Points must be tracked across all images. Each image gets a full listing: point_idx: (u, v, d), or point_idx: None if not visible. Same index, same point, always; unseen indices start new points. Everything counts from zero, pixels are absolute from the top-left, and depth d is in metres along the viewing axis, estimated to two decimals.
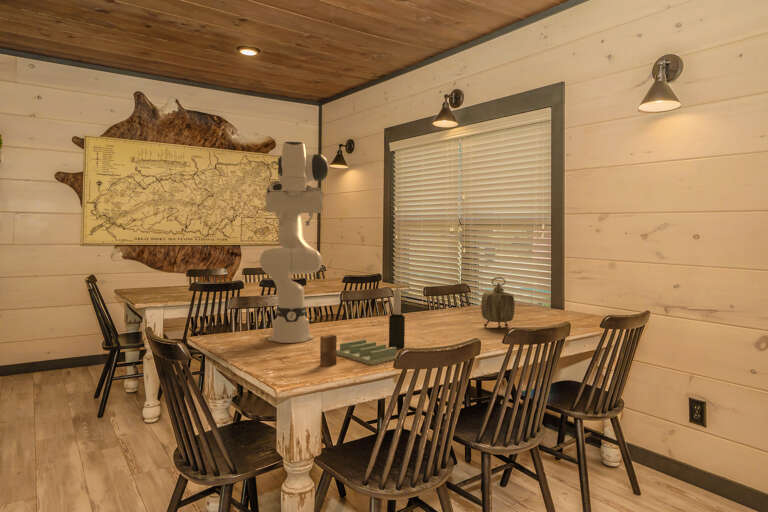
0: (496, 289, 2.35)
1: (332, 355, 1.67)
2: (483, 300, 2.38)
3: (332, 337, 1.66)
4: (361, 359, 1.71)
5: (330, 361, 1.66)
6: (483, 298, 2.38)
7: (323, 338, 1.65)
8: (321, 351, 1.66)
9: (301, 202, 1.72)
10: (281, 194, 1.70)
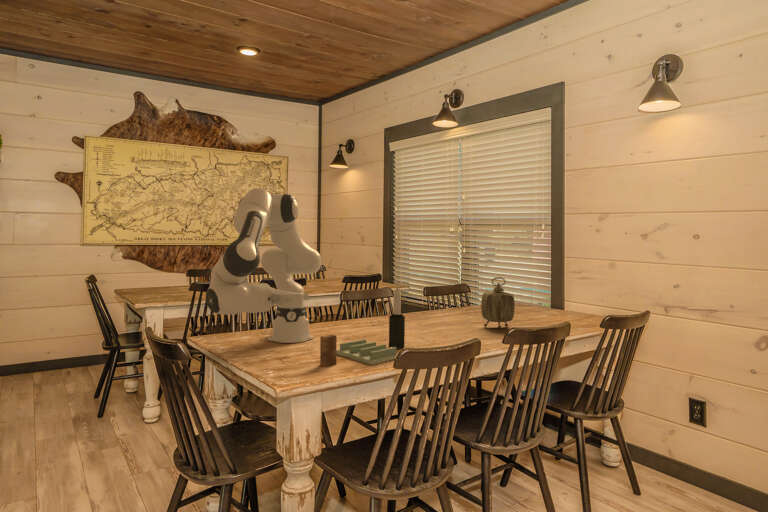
0: (496, 289, 2.35)
1: (332, 355, 1.67)
2: (483, 300, 2.38)
3: (332, 337, 1.67)
4: (361, 359, 1.71)
5: (330, 361, 1.66)
6: (483, 298, 2.38)
7: (323, 338, 1.65)
8: (321, 351, 1.66)
9: None
10: None
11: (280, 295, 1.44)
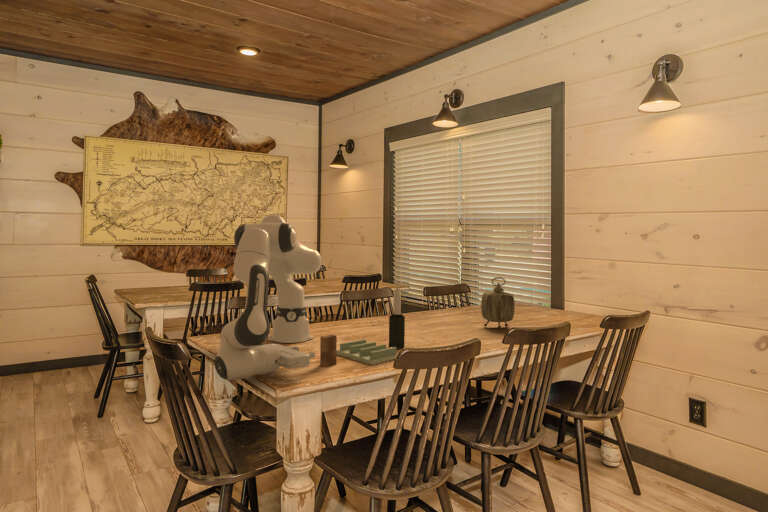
0: (496, 289, 2.35)
1: (332, 355, 1.67)
2: (483, 300, 2.38)
3: (332, 337, 1.66)
4: (361, 359, 1.71)
5: (330, 361, 1.66)
6: (483, 298, 2.38)
7: (323, 338, 1.65)
8: (321, 351, 1.66)
9: None
10: None
11: (287, 358, 1.47)
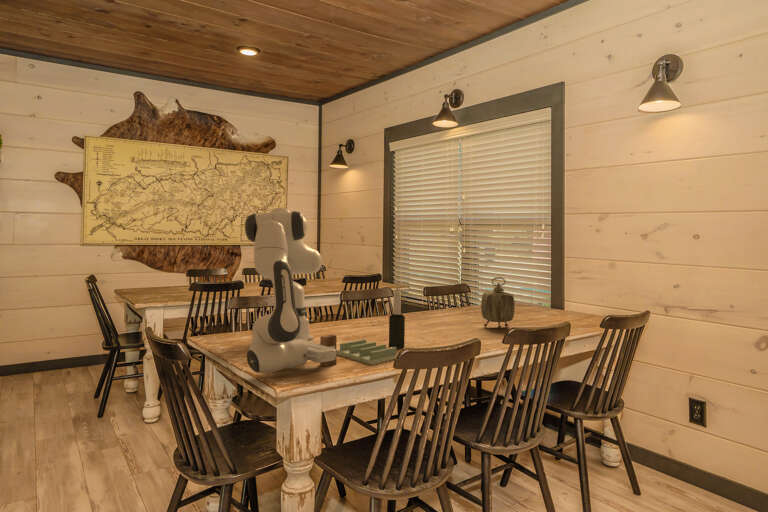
0: (496, 289, 2.35)
1: None
2: (483, 300, 2.38)
3: (332, 337, 1.67)
4: (361, 359, 1.71)
5: (330, 361, 1.66)
6: (483, 298, 2.38)
7: (323, 338, 1.65)
8: None
9: None
10: None
11: (315, 353, 1.54)
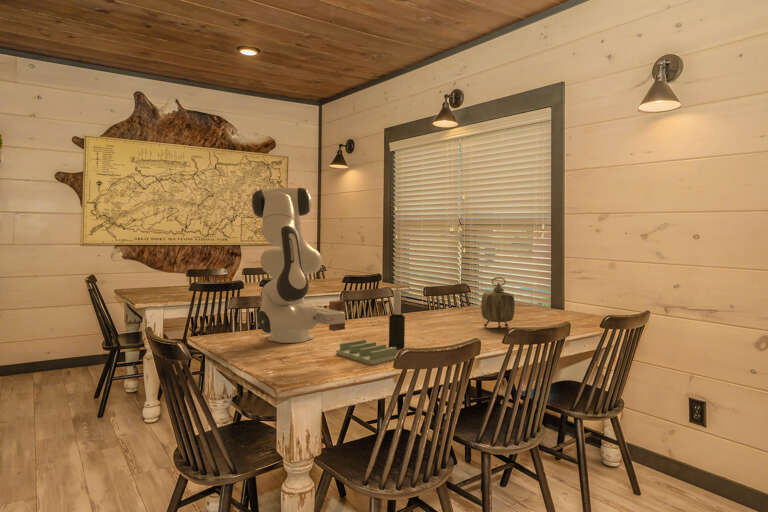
0: (496, 289, 2.35)
1: None
2: (483, 300, 2.38)
3: (341, 302, 1.69)
4: (361, 359, 1.71)
5: (338, 325, 1.68)
6: (483, 298, 2.38)
7: (332, 303, 1.67)
8: None
9: None
10: None
11: (325, 315, 1.56)
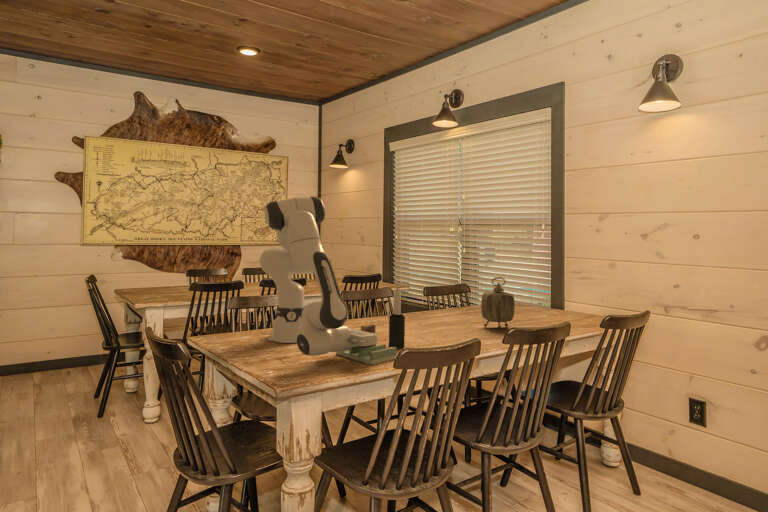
0: (496, 289, 2.35)
1: None
2: (483, 300, 2.38)
3: (371, 326, 1.79)
4: (361, 359, 1.71)
5: None
6: (483, 298, 2.38)
7: (363, 327, 1.77)
8: None
9: None
10: None
11: (359, 337, 1.66)
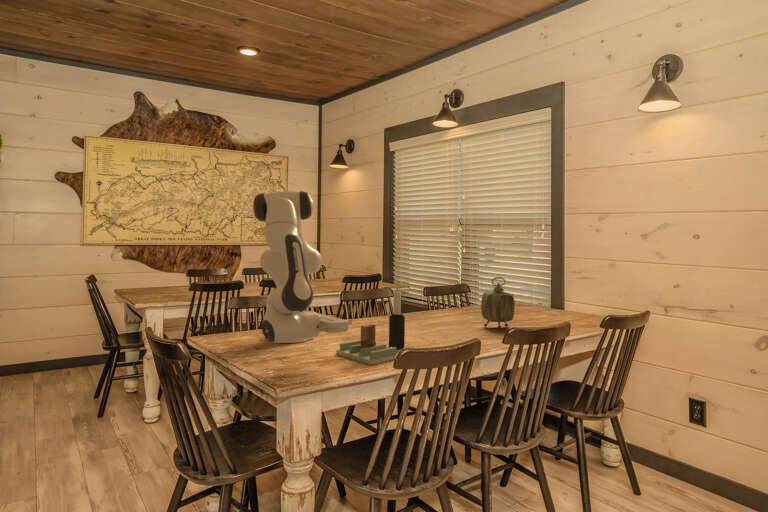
0: (496, 289, 2.35)
1: (371, 343, 1.79)
2: (483, 300, 2.38)
3: (371, 326, 1.79)
4: (361, 359, 1.71)
5: None
6: (483, 298, 2.38)
7: (363, 327, 1.77)
8: (361, 339, 1.78)
9: None
10: None
11: (328, 323, 1.57)
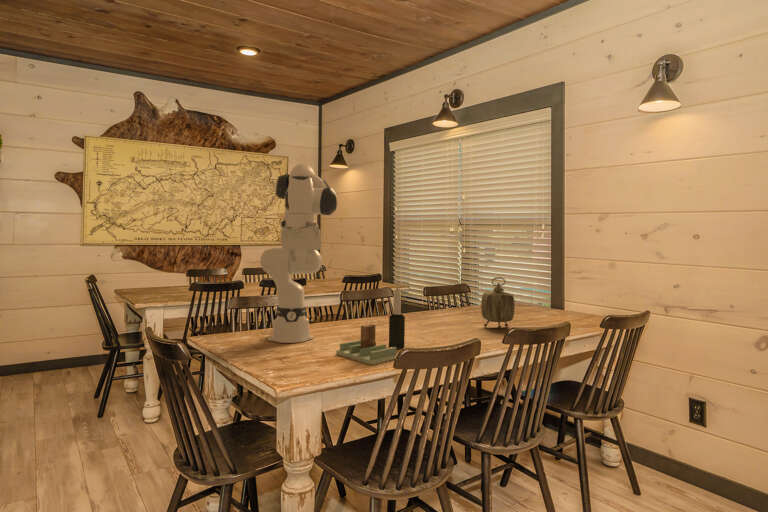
0: (496, 289, 2.35)
1: (371, 343, 1.79)
2: (483, 300, 2.38)
3: (371, 326, 1.79)
4: (361, 359, 1.71)
5: None
6: (483, 298, 2.38)
7: (363, 327, 1.77)
8: (361, 339, 1.78)
9: (300, 238, 1.64)
10: (287, 230, 1.69)
11: None
